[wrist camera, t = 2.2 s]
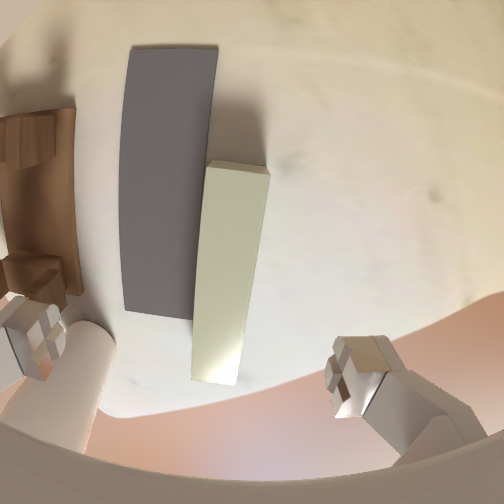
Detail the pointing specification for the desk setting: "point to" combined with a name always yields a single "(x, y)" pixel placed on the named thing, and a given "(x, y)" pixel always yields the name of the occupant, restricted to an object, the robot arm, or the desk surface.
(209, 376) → the clay strip
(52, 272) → the rack
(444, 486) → the robot arm
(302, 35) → the desk surface
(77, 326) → the drinking glass
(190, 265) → the pad
